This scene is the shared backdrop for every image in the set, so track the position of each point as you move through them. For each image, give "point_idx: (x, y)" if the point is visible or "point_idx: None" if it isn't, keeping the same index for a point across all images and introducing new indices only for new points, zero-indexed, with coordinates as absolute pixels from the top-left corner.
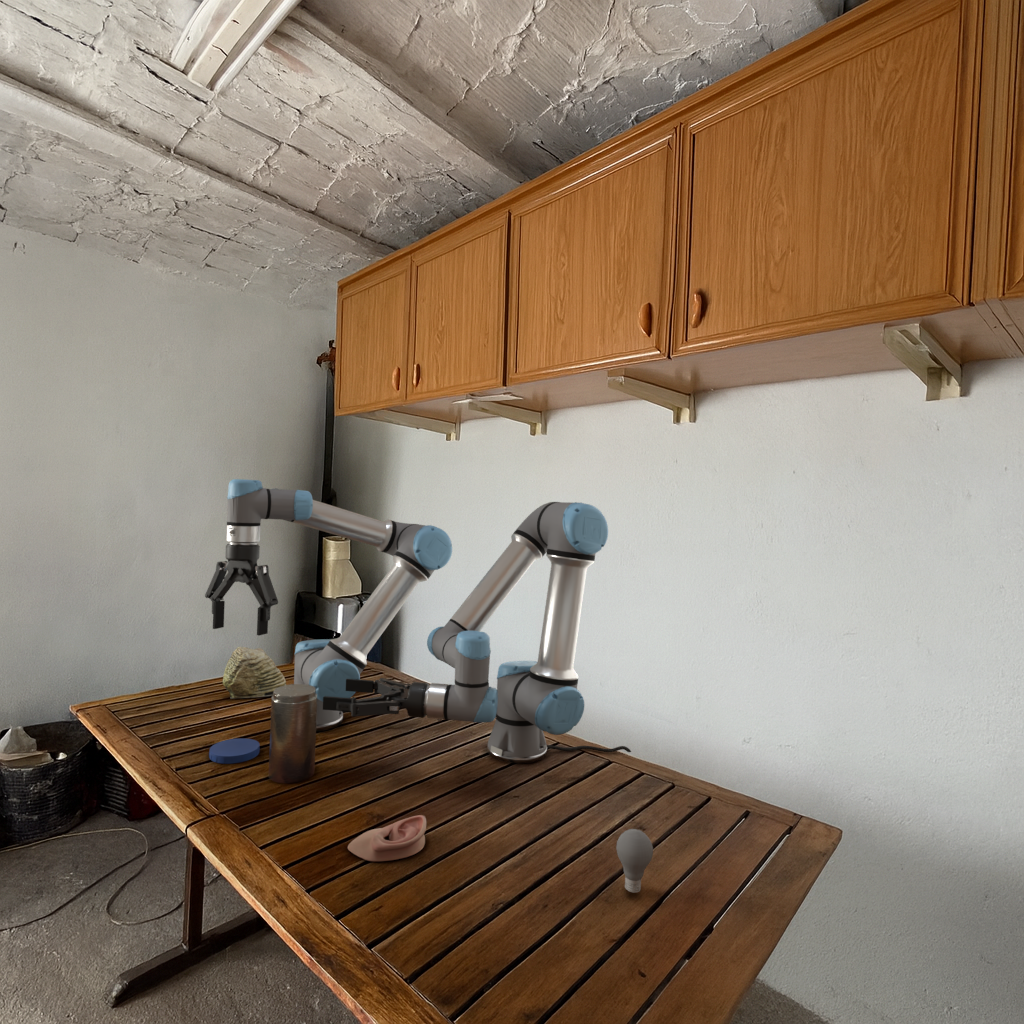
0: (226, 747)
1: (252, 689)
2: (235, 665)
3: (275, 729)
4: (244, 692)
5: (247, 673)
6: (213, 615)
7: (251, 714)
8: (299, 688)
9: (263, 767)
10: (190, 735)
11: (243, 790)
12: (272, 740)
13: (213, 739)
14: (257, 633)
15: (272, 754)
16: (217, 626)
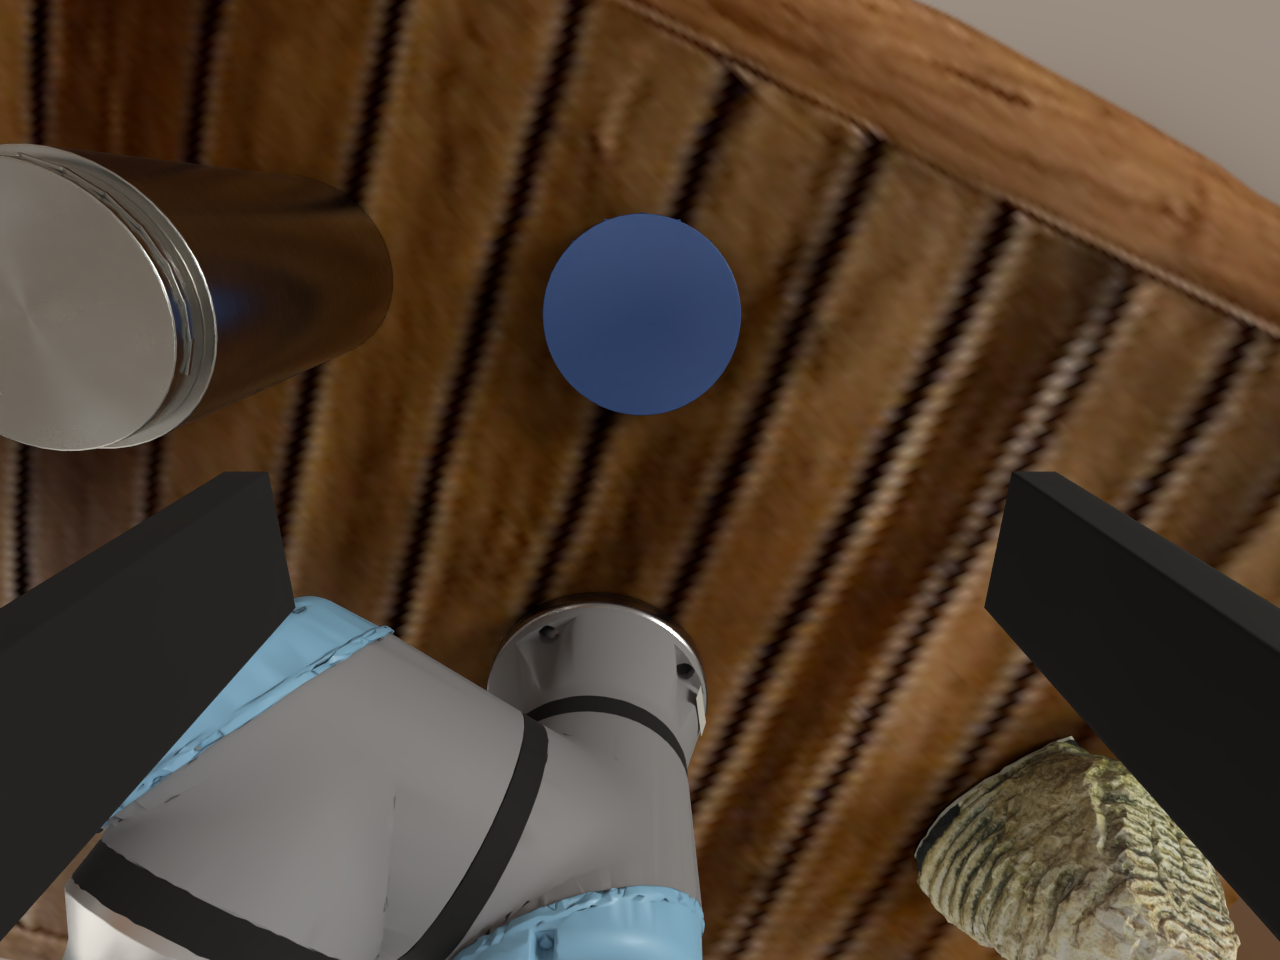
0: (669, 299)
1: (1007, 798)
2: (1141, 853)
3: (173, 161)
4: (1027, 773)
5: (1059, 841)
6: (1187, 556)
7: (877, 650)
8: (33, 354)
9: (445, 266)
10: (949, 383)
11: (339, 49)
12: (238, 174)
13: (831, 393)
14: (242, 479)
15: (269, 176)
16: (1017, 520)
